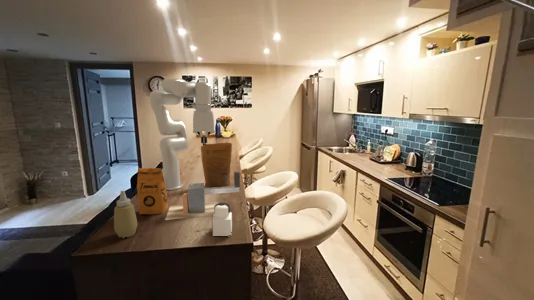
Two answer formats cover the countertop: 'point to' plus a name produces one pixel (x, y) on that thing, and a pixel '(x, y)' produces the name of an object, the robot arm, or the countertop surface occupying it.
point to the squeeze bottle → (124, 217)
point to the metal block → (196, 198)
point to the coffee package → (151, 191)
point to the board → (177, 211)
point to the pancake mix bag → (216, 164)
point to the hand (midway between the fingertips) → (204, 144)
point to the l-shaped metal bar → (225, 189)
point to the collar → (185, 203)
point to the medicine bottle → (222, 220)
